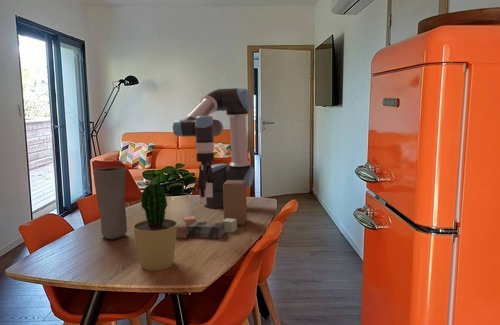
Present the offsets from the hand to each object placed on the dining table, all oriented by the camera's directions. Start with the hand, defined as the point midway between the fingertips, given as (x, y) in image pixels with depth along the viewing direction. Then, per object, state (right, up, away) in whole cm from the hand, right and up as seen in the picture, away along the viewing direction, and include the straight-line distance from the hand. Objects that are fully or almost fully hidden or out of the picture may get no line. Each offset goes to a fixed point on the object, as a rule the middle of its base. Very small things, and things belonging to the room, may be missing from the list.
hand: (206, 200), depth 181 cm
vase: (-40, -16, -1) cm, 43 cm away
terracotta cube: (-9, -14, +11) cm, 20 cm away
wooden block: (+12, -12, +19) cm, 26 cm away
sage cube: (+10, -14, +6) cm, 18 cm away
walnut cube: (-11, -16, -1) cm, 19 cm away
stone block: (0, -15, +1) cm, 15 cm away
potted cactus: (-14, -20, -32) cm, 41 cm away
